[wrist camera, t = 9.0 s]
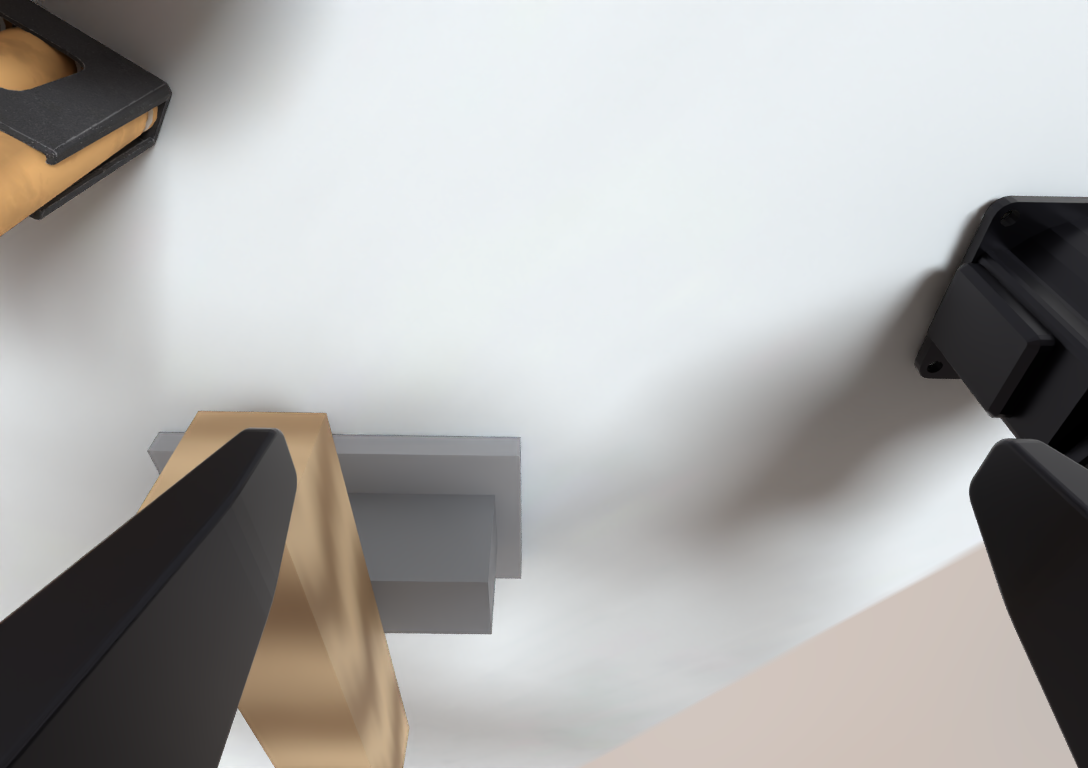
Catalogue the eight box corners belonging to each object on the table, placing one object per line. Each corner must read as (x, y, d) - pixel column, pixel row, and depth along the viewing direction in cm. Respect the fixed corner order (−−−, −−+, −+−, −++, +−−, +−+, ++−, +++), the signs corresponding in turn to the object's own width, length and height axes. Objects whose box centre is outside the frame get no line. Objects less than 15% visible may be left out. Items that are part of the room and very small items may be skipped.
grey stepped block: (520, 437, 26) (515, 543, 22) (521, 559, 31) (517, 663, 27) (159, 432, 26) (90, 538, 22) (220, 556, 31) (174, 659, 27)
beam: (198, 411, 18) (127, 529, 15) (326, 413, 18) (281, 531, 15) (334, 727, 31) (311, 825, 28) (409, 728, 31) (393, 826, 28)
